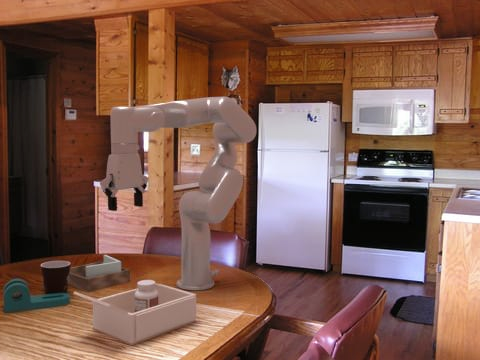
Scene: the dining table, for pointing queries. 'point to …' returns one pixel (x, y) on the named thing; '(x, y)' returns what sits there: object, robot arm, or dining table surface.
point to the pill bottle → (145, 295)
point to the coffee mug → (55, 276)
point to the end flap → (100, 302)
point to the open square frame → (96, 278)
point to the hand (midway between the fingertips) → (125, 208)
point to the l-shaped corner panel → (103, 267)
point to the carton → (144, 315)
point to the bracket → (29, 298)
